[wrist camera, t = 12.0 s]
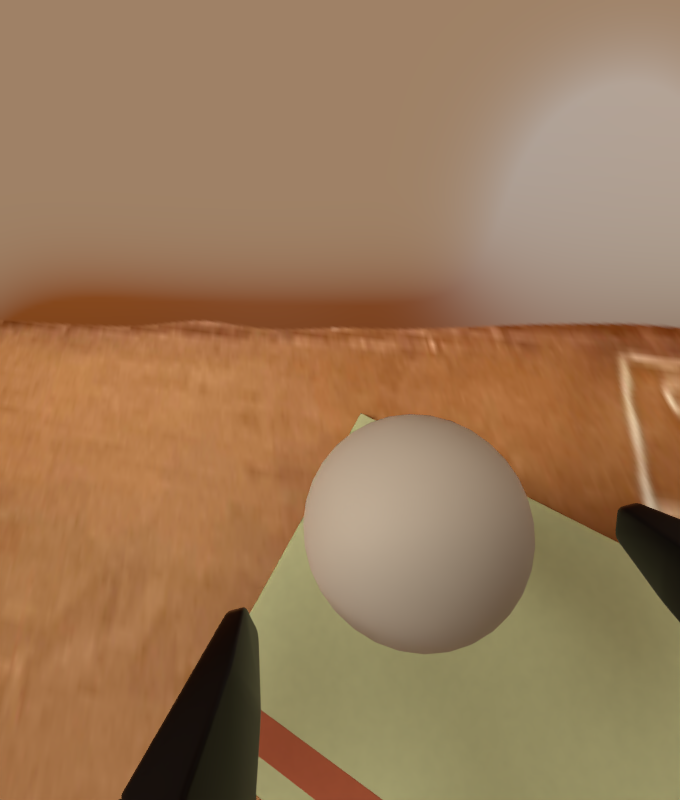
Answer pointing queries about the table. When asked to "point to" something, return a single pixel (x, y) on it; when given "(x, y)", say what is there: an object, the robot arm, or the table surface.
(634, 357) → the table surface
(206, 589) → the table surface
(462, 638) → the lightbulb
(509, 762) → the cloth
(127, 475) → the table surface
